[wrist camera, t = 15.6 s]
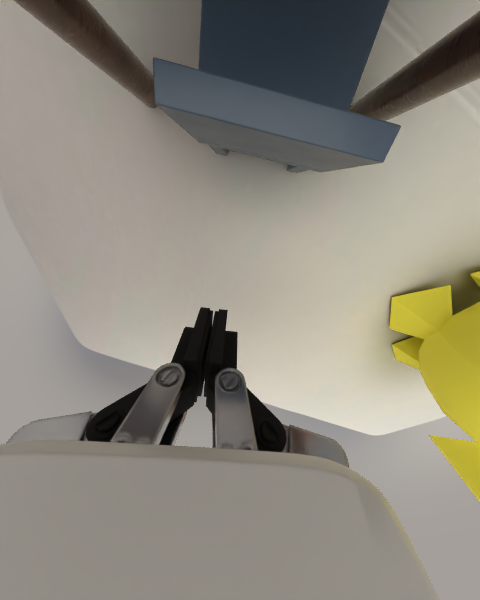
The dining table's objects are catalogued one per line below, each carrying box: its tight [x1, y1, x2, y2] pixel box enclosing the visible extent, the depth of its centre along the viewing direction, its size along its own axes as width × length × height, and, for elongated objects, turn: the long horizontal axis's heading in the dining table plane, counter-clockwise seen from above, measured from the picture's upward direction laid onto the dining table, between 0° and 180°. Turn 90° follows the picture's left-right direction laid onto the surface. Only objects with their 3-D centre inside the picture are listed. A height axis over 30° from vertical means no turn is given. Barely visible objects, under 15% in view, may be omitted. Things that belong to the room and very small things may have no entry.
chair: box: [153, 0, 401, 173], centre depth 9 cm, size 8×8×12 cm
